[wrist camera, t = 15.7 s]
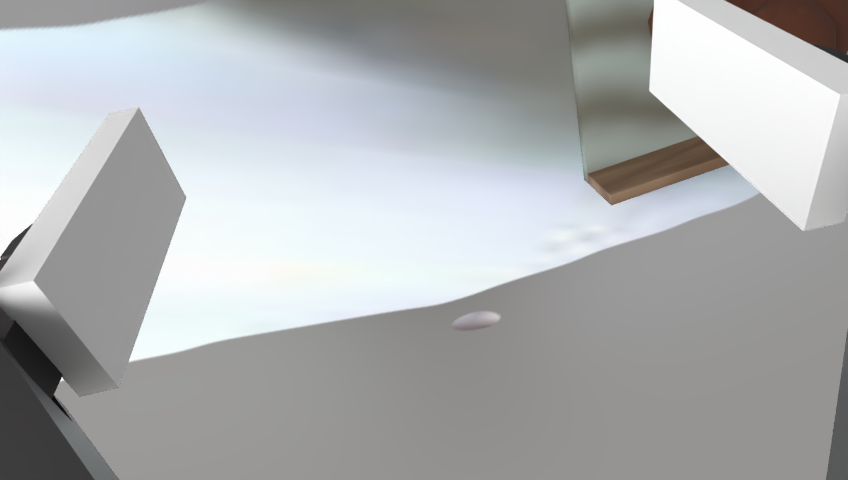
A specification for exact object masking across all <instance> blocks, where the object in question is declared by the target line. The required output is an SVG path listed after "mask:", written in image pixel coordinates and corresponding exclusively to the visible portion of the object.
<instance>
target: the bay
mask: <svg viewBox="0 0 848 480" xmlns="http://www.w3.org/2000/svg"><path fill="white" fill-rule="evenodd" d="M653 5H654V0H566V9H567V18H568V28H569V38H570V47H571V57H572V66H573V76H574V85H575V95H576V104H577V114H578V123H579V133H580V142H581V152H582V161H583V171H584V180H585V181H586V182H587V183H588V184H590V185H591V186H592V187H593V188H594V189H595V190H596V191H597V192H598V193H599V194H600V195H601V196H602V197H603V198H604V199H605V200H606V201H607V202H608V203H610V204H611V205H614V204H617V203H620V202H622V201H625V200H628V199H631V198H634V197H637V196H640V195H642V194H645V193H648V192H651V191H654V190H657V189H660V188H663V187H665V186H668V185H671V184H674V183H677V182H680V181H683V180H686V179H688V178H691V177H694V176H697V175H700V174H703V173H706V172H709V171H711V170H714V169H717V168H720V167H723V166H726V165H729V163H728V162H727V161H726V160H725V159H723V158H722V157H721V156H720V155H719V154H718V153H717V152H716V151H715V150H714V149H713V148H711V147H710V146H709V145H708V144H707V143H706V142H705V141H704V140H703V139H702V138H700V137H699V136H698V135H697V134H696V133H695V132H694V131H693V130H692V129H691V128H689V127H688V126H687V125H686V124H685V123H684V122H683V121H682V120H681V119H680V118H678V117H677V116H676V115H675V114H674V113H673V112H672V111H671V110H670V109H669V108H667V107H666V106H665V105H664V104H663V103H662V102H661V101H660V100H659V99H658V98H656V97H655V96H654V95H653V94H652V93H651V92H650V91H649V85H650V67H651V49H652V39H651V35H650V30H649V25H648V19H649V17H650V14H651V11H652V8H653Z"/></svg>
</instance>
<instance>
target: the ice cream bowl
mask: <svg viewBox="0 0 848 480" xmlns="http://www.w3.org/2000/svg"><path fill="white" fill-rule="evenodd" d="M725 1H727V2H729V3H730V4H732V5H734V6H736V7H738V8H740V9H742V10H744V11H746V12H748V13H750V14H752V15H754V16H756V17H758V18H760V19H762V20H764V21H766V22H768V23H770V24H772V25H774V26H776V27H778V28H779V29H781V30H783V31H785V32H787V33H789V34H791V35H793V36H795V37H797V38H799V39H801V40H803V41H805V42H807V43H811V44H816V45H820V46H824V47H829V48H833V49H836V50H838V51H840V52H842V53H844V54H846V53H847V51H848V0H725ZM653 13H654V5H653V8H652V11H651V14H650V17H649V19H648V25H649V30H650V35H651V39H652V31H653Z"/></svg>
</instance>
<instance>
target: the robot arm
mask: <svg viewBox="0 0 848 480" xmlns="http://www.w3.org/2000/svg"><path fill="white" fill-rule="evenodd" d="M649 91H650V92H651V93H652V94H653V95H654V96H655V97H656V98H658V99H659V100H660V101H661V102H662V103H663V104H664V105H665V106H666V107H667V108H669V109H670V110H671V111H672V112H673V113H674V114H675V115H676V116H677V117H678V118H680V119H681V120H682V121H683V122H684V123H685V124H686V125H687V126H688V127H689V128H691V129H692V130H693V131H694V132H695V133H696V134H697V135H698V136H699V137H700V138H702V139H703V140H704V141H705V142H706V143H707V144H708V145H709V146H710V147H711V148H713V149H714V150H715V151H716V152H717V153H718V154H719V155H720V156H721V157H722V158H723V159H725V160H726V161H727V162H728V163H729V164H730V165H731V166H732V167H733V168H734V169H736V170H737V171H738V172H739V173H740V174H741V175H742V176H743V177H744V178H745V179H747V180H748V181H749V182H750V183H751V184H752V185H753V186H754V187H755V188H756V189H758V190H759V191H760V192H761V193H762V194H763V195H764V196H765V197H766V198H767V199H769V200H770V201H771V202H772V203H773V204H774V205H775V206H776V207H777V208H778V209H780V210H781V211H782V212H783V213H784V214H785V215H786V216H787V217H788V218H789V219H791V220H792V221H793V222H794V223H795V224H796V225H797V226H798V227H799V228H801V230H803V231H808V230H813V229H817V228H821V227H826V226H830V225H835V224H839V223H843V222H844V221H845V218H846V215H847V211H848V55H846V54H844V53H842V52H840V51H838V50H836V49H833V48H829V47H824V46H820V45H816V44H811V43H807V42H805V41H803V40H801V39H799V38H797V37H795V36H793V35H791V34H789V33H787V32H785V31H783V30H781V29H779V28H778V27H776V26H774V25H772V24H770V23H768V22H766V21H764V20H762V19H760V18H758V17H756V16H754V15H752V14H750V13H748V12H746V11H744V10H742V9H740V8H738V7H736V6H734V5H732V4H730V3H729V2H727V1H725V0H654V13H653V31H652V49H651V67H650V85H649ZM185 200H186V196H185V194H184V192H183V191H182V189H181V187H180V185H179V183H178V181H177V179H176V177H175V175H174V173H173V171H172V170H171V168H170V166H169V164H168V162H167V160H166V158H165V156H164V154H163V152H162V150H161V149H160V147H159V145H158V143H157V141H156V139H155V137H154V135H153V133H152V131H151V129H150V128H149V126H148V124H147V122H146V120H145V118H144V116H143V114H142V112H141V110H140V109H139V107H137V108H133V109H129V110H124V111H120V112H116V113H111V114H109V115H108V116H107V118H106V119H105V120H104V122H103V123H102V125H101V126H100V128H99V129H98V131H97V132H96V133H95V135H94V136H93V138H92V139H91V141H90V142H89V144H88V145H87V146H86V148H85V149H84V151H83V152H82V154H81V155H80V157H79V158H78V160H77V161H76V162H75V164H74V165H73V167H72V168H71V170H70V171H69V173H68V174H67V175H66V177H65V178H64V180H63V181H62V183H61V184H60V186H59V187H58V188H57V190H56V191H55V193H54V194H53V196H52V197H51V199H50V200H49V202H48V203H47V204H46V206H45V207H44V209H43V210H42V212H41V213H40V215H39V216H38V217H37V219H36V220H35V222H34V223H33V224H31V225H30V226H29V227H28V228H27V229H25V230H24V231H23V232H22V233H21V234H19V235H18V236H17V237H16V238H15V239H14V240H12V242H11V243H10V244H9V246H8V247H7V249H6V250H5V251H4V253H3V254H2V256H1V257H0V258H1V260H0V480H119V479H118V478H117V476H116V475H115V474H114V472H113V471H112V470H111V468H110V467H109V465H108V464H107V463H106V461H105V460H104V459H103V457H102V456H101V455H100V453H99V452H98V451H97V449H96V448H95V447H94V445H93V444H92V442H91V441H90V440H89V439H88V437H87V436H86V434H85V433H84V432H83V430H82V429H81V428H80V426H79V425H78V424H77V422H76V421H75V420H74V418H73V417H72V416H71V414H70V413H69V411H68V410H67V409H66V407H65V406H64V405H63V404H62V403H61V402H60V401H59V400H58V398H57V397H56V396H55V395H54V393H55V391H56V388H57V386H58V384H59V382H60V380H61V377H63V379H64V380H65V381H66V382H67V383H68V384H69V385H70V386H71V388H72V389H73V390H74V391H75V392H76V393H77V394H78V395H79V396H80V397H81V396H85V395H89V394H94V393H98V392H102V391H107V390H111V389H116V388H119V387H120V384H121V381H122V378H123V375H124V372H125V370H126V367H127V364H128V361H129V358H130V355H131V353H132V350H133V347H134V344H135V341H136V338H137V336H138V333H139V330H140V327H141V324H142V321H143V319H144V316H145V313H146V310H147V307H148V304H149V302H150V299H151V296H152V293H153V290H154V287H155V285H156V282H157V279H158V276H159V273H160V270H161V268H162V265H163V262H164V259H165V256H166V253H167V251H168V248H169V245H170V242H171V239H172V236H173V234H174V231H175V228H176V225H177V222H178V219H179V217H180V214H181V211H182V208H183V205H184V202H185ZM826 480H848V332H847V339H846V345H845V352H844V359H843V367H842V373H841V380H840V387H839V394H838V401H837V408H836V415H835V422H834V429H833V436H832V444H831V450H830V457H829V464H828V471H827V478H826Z"/></svg>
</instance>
